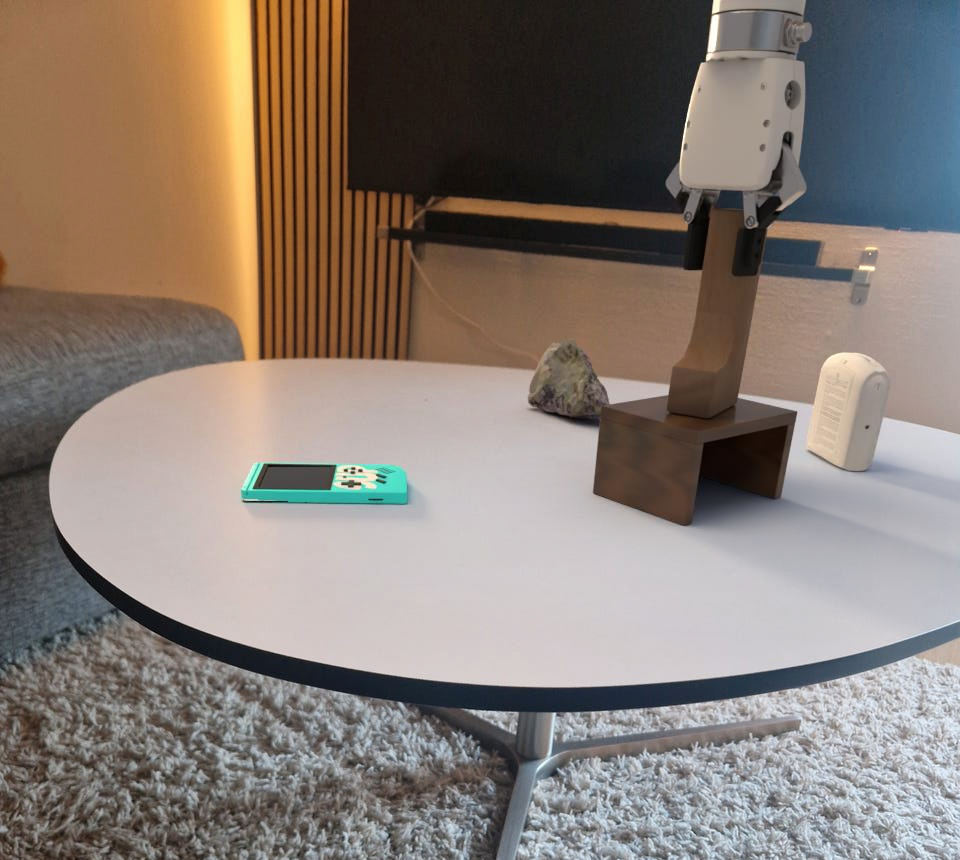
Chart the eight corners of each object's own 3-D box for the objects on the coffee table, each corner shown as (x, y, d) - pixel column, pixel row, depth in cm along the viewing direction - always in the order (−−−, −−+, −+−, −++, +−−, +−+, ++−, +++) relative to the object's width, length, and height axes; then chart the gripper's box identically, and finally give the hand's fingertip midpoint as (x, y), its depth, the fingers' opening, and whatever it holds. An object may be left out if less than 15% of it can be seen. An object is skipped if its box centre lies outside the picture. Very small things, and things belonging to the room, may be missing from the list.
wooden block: (709, 420, 88) (743, 212, 80) (664, 412, 90) (693, 208, 82) (737, 404, 95) (772, 211, 87) (695, 397, 97) (725, 208, 89)
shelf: (781, 497, 97) (797, 411, 93) (683, 525, 88) (697, 431, 84) (690, 469, 105) (702, 389, 101) (592, 493, 96) (601, 405, 92)
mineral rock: (613, 429, 121) (621, 350, 116) (530, 426, 120) (536, 347, 116) (601, 407, 132) (608, 334, 128) (525, 404, 132) (530, 331, 127)
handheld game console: (407, 504, 90) (407, 491, 89) (239, 502, 89) (238, 489, 88) (406, 474, 99) (406, 462, 98) (254, 472, 98) (253, 460, 97)
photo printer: (876, 471, 108) (902, 362, 102) (842, 472, 107) (866, 362, 101) (831, 448, 117) (852, 346, 111) (799, 448, 116) (819, 346, 110)
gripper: (868, 42, 75) (822, 281, 83) (700, 54, 87) (674, 263, 95) (816, 30, 71) (773, 283, 79) (647, 45, 82) (625, 265, 90)
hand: (719, 270), depth 87 cm, fingers closed on wooden block, 4 cm apart
